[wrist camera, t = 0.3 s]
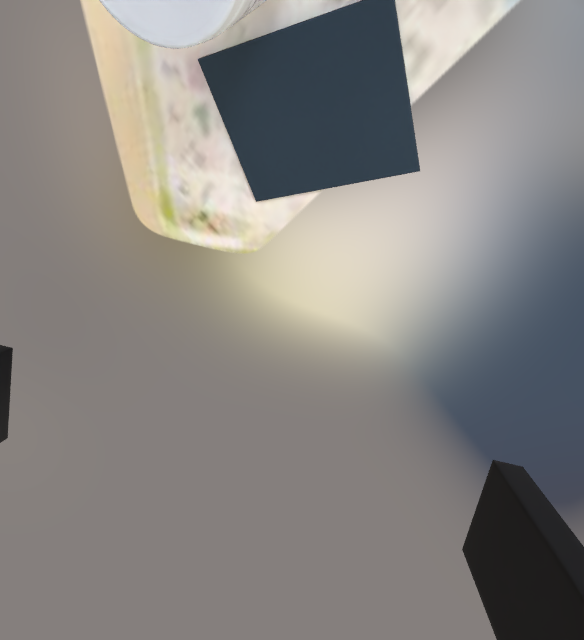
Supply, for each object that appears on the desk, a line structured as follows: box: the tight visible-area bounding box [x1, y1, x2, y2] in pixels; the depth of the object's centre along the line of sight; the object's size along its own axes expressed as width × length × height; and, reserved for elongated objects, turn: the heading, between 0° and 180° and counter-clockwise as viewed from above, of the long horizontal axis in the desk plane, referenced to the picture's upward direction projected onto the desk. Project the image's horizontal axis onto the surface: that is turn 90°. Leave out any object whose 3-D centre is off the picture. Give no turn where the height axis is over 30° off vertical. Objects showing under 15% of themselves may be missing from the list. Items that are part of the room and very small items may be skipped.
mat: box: [198, 0, 420, 202], centre depth 40 cm, size 14×17×1 cm
